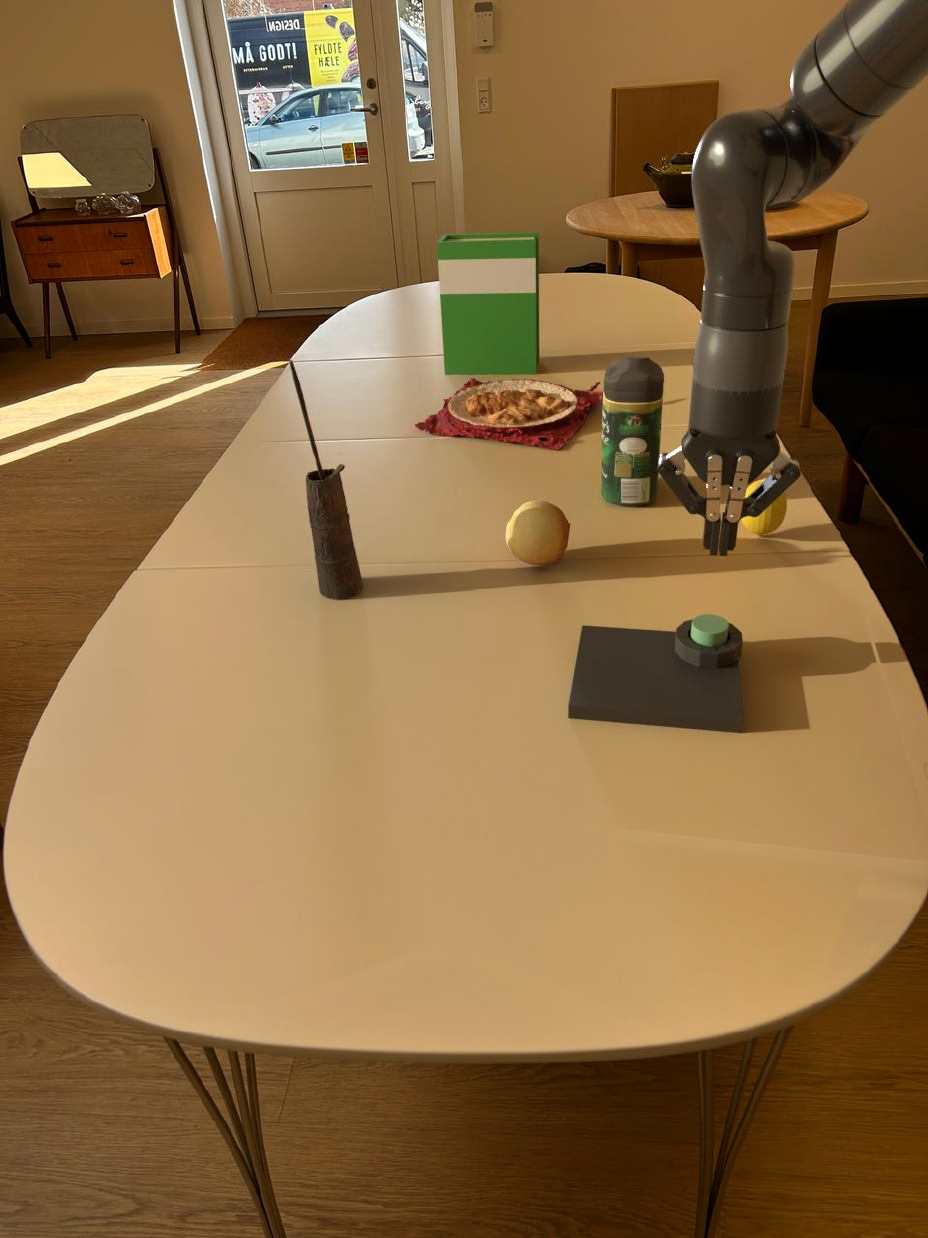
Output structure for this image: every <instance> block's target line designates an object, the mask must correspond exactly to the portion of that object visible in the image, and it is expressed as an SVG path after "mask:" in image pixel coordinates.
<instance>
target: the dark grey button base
mask: <svg viewBox="0 0 928 1238" xmlns="http://www.w3.org/2000/svg"><path fill="white" fill-rule="evenodd" d="M693 619H694V618H692V619H689V620H685V621H683V622H682V623H680V624H679V625H678V626H677V627H676V628H675V631H673V630H671V631H670V630H660V629H659V630H655V629H643V628H642V629H641V628H629V627H628V628H627V627H614V626H613V627H612V626H600V625H599V626H598V625H584V624H583V625H581V628H580V629H581V630H580V635H579V640H578V647H577V651H576V659H575V663H574V671H573V676H572V681H571V688H570V693H569V698H568V705H567V718H568V719H571V720H572V719H573V720H583V721H594V722H606V723H607V722H608V723H618V724H630V725H642V726H653V727H663V728H664V727H665V728H676V729H687V730H697V731H698V730H699V731H709V732H710V731H711V732H720V733H733V734H742V729H743V721H744V715H743V702H742V701H743V699H742V690H741V689H742V688H741V676H740V663H739V659H740V658H741V657H742V651H743V643H744V642H743V641H744V640H743V633H742V631H741V630H740V629H739V628H737V626H735V625H734V624H733V623H732V622H728V624H729V629H728V637H727V641H726V643H725V644H724V645H722V646H718V647H707V646H702V645H699V644H697V643H694V642H693V641H692V639H691V626H692V621H693Z"/></svg>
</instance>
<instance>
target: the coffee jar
mask: <svg viewBox="0 0 928 1238" xmlns="http://www.w3.org/2000/svg"><path fill="white" fill-rule="evenodd" d="M664 383H665V373H664V371H663V368H662V366H660V365H659V364H658V363H657V362H655V361H654V360H653V359H651V358H650V357H648V356H646V357H645V356H642V357H641V356H640V357H639V356H633V357H632V356H629V357H628V356H626V357H625V356H623V357H619V358H618V359H617V360H616V361H614V362H613V363H611V364H610V365H608V367H607V368H606V370H605V373H604V378H603V390H602V391H603V397H602V412H601V413H602V414H601V468H600V469H601V473H600V491H601V497H602V499H603V500H604V501H605V502H606V503H610V504H612V505H617V506H619V507H627V508H628V507H629V508H630V507H634V508H635V507H638V506H643V505H648V504H651V503H653V502H654V501H655V499H656V498H657V496H658V488H659V486H658V485H659V475H660V474H659V472H658V458H659V456H660V455H661V453H660V452H661V440H662V439H661V436H662V422H663V421H662V419H663V404H664V391H665V390H664Z"/></svg>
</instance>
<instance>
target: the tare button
mask: <svg viewBox="0 0 928 1238" xmlns="http://www.w3.org/2000/svg"><path fill="white" fill-rule="evenodd" d="M692 619H693V621H692V626H691V639H692V641H693V642H694V643H697V644H699V645H702V646H707V647H718V646H722V645H724V644H725V643H726V641H727V637H728V629H729V624H728V623H729V622H728V620H726V619H725V618H724V617H722V616H720V615H716V614H712V613H709V614H708V613H705V614H700V615H697V616H695V617H694V618H692Z"/></svg>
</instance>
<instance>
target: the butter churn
mask: <svg viewBox="0 0 928 1238" xmlns="http://www.w3.org/2000/svg"><path fill="white" fill-rule="evenodd" d="M288 364H289V367H290V371H291V377H292V381H293V384H294V388H295V391H296V395H297V397H298V402H299V407H300V409H301V412H302V416H303V420H304V424H305V428H306V431H307V435H308V438H309V442H310V443H309V444H310V446H311V451H312V455H313V456H314V460H315V465H316V468H317V469H316V470H312V471H308V472H307V474H306V475H305V488H306V502H307V512H308V521H309V524H310V529H311V536H312V541H313V551H314V560H315V565H316V567H315V568H316V574H317V583H318V591H319V594H320V595H322V597H324V598H326V599H329V600H330V599H333V600H334V599H337V600H338V599H346V598H349V597H350V596H352V595H357V594H359V593H360V592H361V591H362V590H363V589H364V583H363V579H362V573H361V569H360V564H359V560H358V556H357V550H356V548H355V543H354V539H353V532H352V527H351V523H350V513H349V512H348V511H349V510H348V509H349V508H348V504H347V500H346V495H345V490H344V485H343V480H342V476H341V472H343V471H344V470H345V468H346V466H345V465H344V464H342V463H340V464H338V465H337V466H336V468H332V467H331V468H323V466H322V463H321V460H320V457H319V456H320V455H319V451H318V446H317V444H316V440H315V436H314V432H313V428H312V425H311V422H310V418H309V413H308V409H307V405H306V400H305V397H304V393H303V390H302V386H301V381H300V380H299V379H300V378H299V377H298V373H297V370H296V367H295V364H294V362H293V360H292V359H290V360H289V361H288Z"/></svg>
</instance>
